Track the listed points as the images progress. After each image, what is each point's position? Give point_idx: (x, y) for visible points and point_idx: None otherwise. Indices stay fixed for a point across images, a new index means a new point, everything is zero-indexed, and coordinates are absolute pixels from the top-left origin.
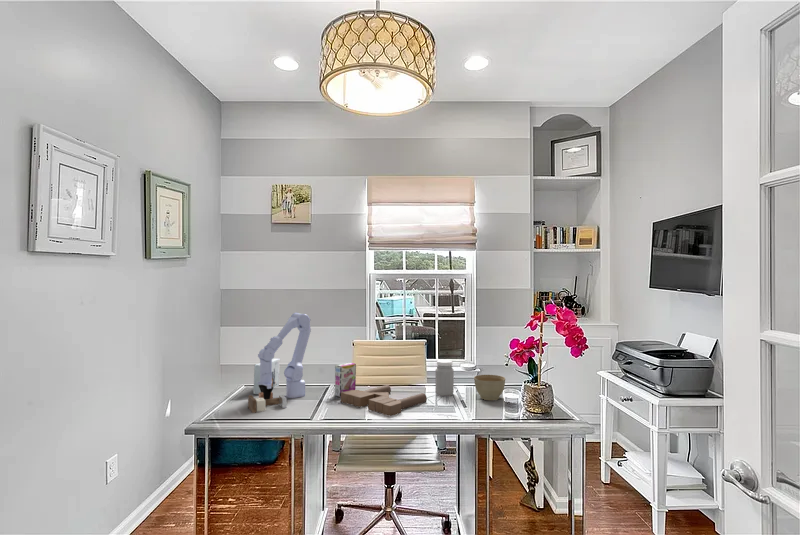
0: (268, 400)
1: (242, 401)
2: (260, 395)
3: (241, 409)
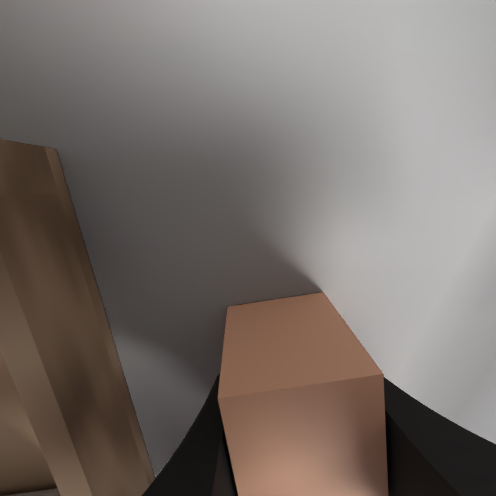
0: (53, 444)
1: (487, 92)
2: (231, 381)
3: (72, 54)
